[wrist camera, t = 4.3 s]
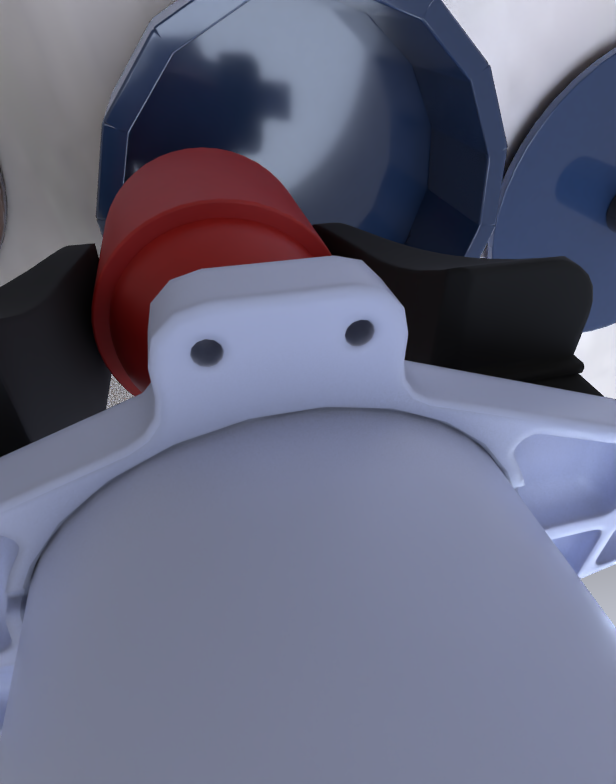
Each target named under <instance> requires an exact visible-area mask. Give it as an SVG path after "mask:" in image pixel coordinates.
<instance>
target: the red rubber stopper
mask: <svg viewBox="0 0 616 784" xmlns="http://www.w3.org/2000/svg"><path fill="white" fill-rule="evenodd" d="M324 256H332V255H331V253H330V251H329V250H328V248H327V247H326V245H325V244H324V242H323V241H322V239H321V238H320V236H319V235H318V234H317V232H316V231H315V229H314V228H313V226H312V225H311V224H310V222H309V221H308V219H307V218H306V216H305V215H304V213H303V212H302V211H301V209H300V208H299V206H298V205H297V203H296V202H295V201H294V199H293V198H292V196H291V195H290V193H289V192H288V191H287V189H286V188H285V187H284V186H283V184H282V183H281V182H280V181H279V180H278V179H277V178H276V177H275V176H274V175H273V174H272V173H271V172H270V171H268V170H267V169H266V168H264V167H263V166H261V165H260V164H258V163H257V162H255V161H253V160H251V159H249V158H247V157H245V156H243V155H240V154H237V153H234V152H231V151H227V150H222V149H217V148H203V147H200V148H188V149H183V150H178V151H174V152H170V153H168V154H165V155H162V156H160V157H158V158H156V159H154V160H152V161H150V162H149V163H147V164H145V165H144V166H143V167H141V168H140V169H139V170H137V171H136V172H135V173H134V174H133V175H132V176H131V177H130V178H129V179H128V180H127V181H126V182H125V183H124V184H123V186H122V187H121V189H120V190H119V191H118V193H117V194H116V196H115V198H114V200H113V202H112V204H111V206H110V209H109V212H108V215H107V218H106V222H105V228H104V234H103V240H102V246H101V252H100V257H99V263H98V269H97V275H96V281H95V287H94V293H93V299H92V305H91V322H92V328H93V334H94V339H95V342H96V345H97V348H98V351H99V353H100V355H101V357H102V359H103V361H104V363H105V365H106V366H107V367H108V369H109V370H110V372H111V373H112V375H113V376H114V377H115V378H116V379H117V381H118V382H119V383H120V384H121V385H122V386H123V387H124V388H125V389H126V390H127V391H129V392H130V393H131V394H132V395H134V396H137V395H139V394H141V393H143V392H144V391H145V390H146V388H147V387H148V386H149V384H150V383H151V379H150V375H149V371H148V323H149V312H150V303H151V302H152V301H153V300H154V298H155V297H156V296H157V295H158V294H159V292H160V291H161V290H162V289H163V288H164V286H165V285H166V284H167V283H168V282H169V280H171V279H174V278H177V277H179V276H182V275H185V274H188V273H191V272H193V271H196V270H199V269H204V268H214V267H224V266H234V265H244V264H254V263H264V262H274V261H284V260H294V259H304V258H314V257H324Z"/></svg>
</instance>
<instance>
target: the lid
mask: <svg viewBox="0 0 616 784" xmlns="http://www.w3.org/2000/svg"><path fill="white" fill-rule="evenodd" d="M487 248H488V259H529V258H545V257H557V256H565V257H567V258H569V259H570V260H572V261H573V262H575V263H576V264H578V265H579V266H581V267H582V268H583V269H584V270H585V271H586V272H587V274H588V275H589V277H590V280H591V282H592V285H593V302H592V306H591V310H590V313H589V317H588V319H587V322H586V324H585V327H584V329H583V332H588V331H593V330H596V329H600V328H603V327H606V326H609V325H612V324H614V323H616V47H615V48H613V49H612V50H611V51H609V52H608V53H606V54H605V55H603V56H602V57H601V58H599V59H598V60H596V61H595V62H593V63H592V64H591V65H590V66H589V67H587V68H586V69H585V70H584V71H583V72H582V73H581V74H579V75H578V76H577V77H576V78H575V79H574V80H572V81H571V82H570V83H569V84H568V85H567V87H566V88H565V89H564V90H563V91H562V92H561V93H560V94H559V95H558V96H557V97H556V98H555V99H554V100H553V101H552V102H551V104H550V105H549V106H548V107H547V109H546V110H545V111H544V112H543V114H542V115H541V116H540V117H539V119H538V120H537V121H536V122H535V124H534V125H533V127H532V128H531V130H530V131H529V133H528V134H527V136H526V137H525V139H524V140H523V142H522V143H521V145H520V147H519V149H518V151H517V153H516V154H515V156H514V158H513V160H512V162H511V164H510V165H509V168H508V170H507V172H506V175H505V177H504V179H503V182H502V186H501V193H500V199H499V206H498V213H497V219H496V224H495V229H494V231H493V233H492V235H491V237H490V239H489V241H488V247H487Z"/></svg>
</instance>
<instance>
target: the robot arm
mask: <svg viewBox="0 0 616 784" xmlns="http://www.w3.org/2000/svg"><path fill="white" fill-rule="evenodd" d="M313 228H314V229H315V231H316V232H317V234H318V235H319V236H320V238H321V239H322V241H323V242H324V244H325V245H326V247H327V248H328V250H329V251H330V253H331V255H332V256H324V257H314V258H304V259H294V260H284V261H274V262H264V263H254V264H244V265H234V266H224V267H214V268H204V269H199V270H196V271H193V272H191V273H188V274H185V275H182V276H179V277H177V278H174V279H171V280H169V282H168V283H167V284H166V285H165V286H164V288H163V289H162V290H161V291H160V292H159V294H158V295H157V296H156V297H155V298H154V300H153V301H152V302H151V303H150V312H149V323H148V371H149V375H150V379H151V383H150V384H149V386H148V387H147V388H146V390H145V391H144V392H143V393H141V394H139V395H137V396H135V397H133V398H130V399H128V400H126V401H124V402H121V403H119V404H117V405H115V406H113V407H110V408H108V409H106V406H107V399H108V393H109V386H110V380H111V372H110V370H109V369H108V367H107V366H106V365H105V363H104V361H103V359H102V357H101V355H100V353H99V351H98V348H97V345H96V342H95V339H94V334H93V328H92V322H91V305H92V299H93V293H94V287H95V281H96V275H97V269H98V263H99V257H98V253H97V250H96V246H95V243H94V244H82V245H71V246H66V247H63V248H61V249H60V250H58V251H56V252H55V253H53V254H52V255H50V256H49V257H47V258H46V259H44V260H43V261H41V262H40V263H38V264H37V265H36V266H34V267H33V268H31V269H30V270H28V271H27V272H25V273H23V274H22V275H20V276H18V277H17V278H15V279H13V280H12V281H10V282H8V283H7V284H5V285H3V286H1V287H0V735H1V738H0V784H616V627H615V626H614V624H613V623H612V622H611V620H610V619H609V618H608V616H607V615H606V613H605V612H604V611H603V609H602V608H601V607H600V605H599V604H598V603H597V601H596V600H595V598H594V597H593V596H592V594H591V593H590V592H589V590H588V589H587V588H586V586H585V585H584V584H583V582H582V581H581V578H583V577H586V576H588V575H590V574H593V573H595V572H597V571H600V570H602V569H605V568H607V567H609V566H612V565H614V564H616V399H612V398H607V397H604V396H603V395H602V394H601V393H600V392H598V391H597V390H596V389H595V388H594V387H593V386H592V385H591V384H590V383H588V382H587V381H586V380H585V379H584V378H583V377H582V376H581V375H579V374H578V373H582V372H583V369H584V364H583V362H582V361H580V360H579V359H578V358H577V357H576V356H575V355H573V354H574V352H575V349H576V347H577V344H578V342H579V339H580V337H581V334H582V332H583V329H584V327H585V324H586V322H587V319H588V317H589V313H590V310H591V306H592V302H593V285H592V282H591V280H590V277H589V275H588V274H587V272H586V271H585V270H584V269H583V268H582V267H581V266H579V265H578V264H576V263H575V262H573V261H572V260H570V259H569V258H567V257H565V256H557V257H545V258H529V259H487V258H472V257H463V256H454V255H447V254H441V253H436V252H431V251H426V250H422V249H418V248H414V247H410V246H407V245H404V244H400V243H397V242H394V241H391V240H388V239H385V238H382V237H380V236H377V235H374V234H371V233H369V232H366V231H363V230H361V229H358V228H355V227H353V226H349V225H346V224H343V223H336V222H335V223H323V224H313Z"/></svg>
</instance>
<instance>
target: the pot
mask: <svg viewBox="0 0 616 784" xmlns="http://www.w3.org/2000/svg"><path fill="white" fill-rule="evenodd" d="M200 147H203V148H217V149H222V150H227V151H231V152H234V153H237V154H240V155H243V156H245V157H247V158H249V159H251V160H253V161H255V162H257V163H258V164H260V165H261V166H263V167H264V168H266V169H267V170H268V171H270V172H271V173H272V174H273V175H274V176H275V177H276V178H277V179H278V180H279V181H280V182H281V183H282V184H283V186H284V187H285V188H286V189H287V191H288V192H289V193H290V195H291V196H292V198H293V199H294V201H295V202H296V203H297V205H298V206H299V208H300V209H301V211H302V212H303V213H304V215H305V216H306V218H307V219H308V221H309V222H310V224H311V225H312V226H313V224H323V223H335V222H336V223H343V224H346V225H349V226H353V227H355V228H358V229H361V230H363V231H366V232H369V233H371V234H374V235H377V236H380V237H382V238H385V239H388V240H391V241H394V242H397V243H400V244H404V245H407V246H410V247H414V248H418V249H422V250H426V251H431V252H436V253H441V254H447V255H454V256H463V257H472V258H480V256H481V254H482V252H483V251H484V249H485V247H486V245H487V243H488V241H489V239H490V237H491V235H492V233H493V231H494V229H495V224H496V219H497V213H498V206H499V199H500V193H501V186H502V180H503V173H504V167H505V160H506V153H507V147H508V146H507V142H506V137H505V132H504V128H503V123H502V118H501V114H500V109H499V104H498V99H497V95H496V90H495V85H494V81H493V76H492V71H491V67H490V65H488V62H487V60H486V59H485V58H484V56H483V55H482V54H481V52H480V51H479V50H478V48H477V47H476V46H475V44H474V43H473V42H472V40H471V39H470V38H469V36H468V35H467V34H466V32H465V31H464V30H463V28H462V27H461V26H460V24H459V23H458V22H457V20H456V19H455V18H454V16H453V15H452V14H451V12H450V11H449V10H448V8H447V7H446V6H445V4H444V3H443V2H442V0H177V1H176V2H174V3H173V4H171V5H170V6H169V7H167V8H166V9H164V10H163V11H162V12H160V13H159V14H157V15H156V16H155V17H153V18H152V20H151V21H150V22H149V24H148V26H147V28H146V30H145V32H144V34H143V35H142V37H141V39H140V41H139V43H138V45H137V47H136V49H135V50H134V52H133V54H132V55H131V57H130V59H129V62H128V64H127V65H126V67H125V69H124V71H123V73H122V75H121V77H120V79H119V81H118V82H117V84H116V86H115V88H114V90H113V92H112V94H111V97H110V100H109V103H108V106H107V110H106V113H105V116H104V119H103V122H102V129H101V144H100V160H99V175H98V191H97V206H96V218H97V223H98V225H99V228H100V231H101V234H102V237H103V234H104V228H105V222H106V218H107V215H108V212H109V209H110V206H111V204H112V202H113V200H114V198H115V196H116V194H117V193H118V191H119V190H120V189H121V187H122V186H123V184H124V183H125V182H126V181H127V180H128V179H129V178H130V177H131V176H132V175H133V174H134V173H135V172H136V171H137V170H139V169H140V168H141V167H143V166H144V165H145V164H147V163H149V162H150V161H152V160H154V159H156V158H158V157H160V156H162V155H165V154H168V153H170V152H174V151H178V150H183V149H188V148H200Z"/></svg>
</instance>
